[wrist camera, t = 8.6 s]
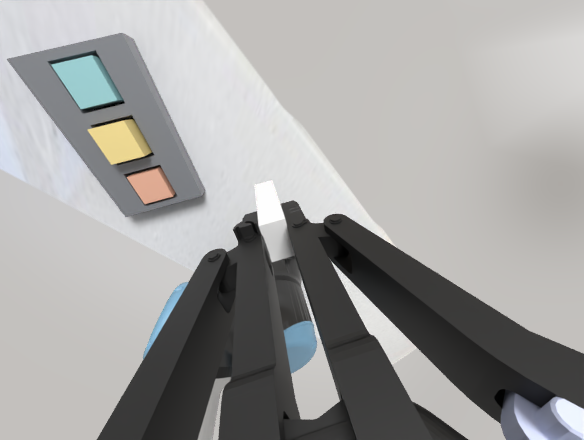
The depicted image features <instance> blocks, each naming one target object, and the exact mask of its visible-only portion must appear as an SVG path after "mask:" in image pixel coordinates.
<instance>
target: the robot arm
mask: <svg viewBox="0 0 584 440" xmlns="http://www.w3.org/2000/svg"><path fill="white" fill-rule="evenodd" d="M254 186H255V195H256V205H257V211H256V212H253V213H249V214H246V215H245V216H244V218H243V222H240V223H239V224H237V225H236V226H235V227H234V229H233V231H234V233H235V235H236V238H237V240H238V246H237V247H236V248H234V249H232V250H230V251H228V252H226V251H225V250H224V249H215V250H212V251H210V252H209V253H207V254H206V255H205V256H204V257H203V258H202V260H201V262H200V264H199V265H198V267H197V269H196V270H195V272H194V274H193V276H192V277H191V279H190V281H189V282H185V283H182V284H180V285H179V286H178V287H177V288H176V289H175V290H174V292H173V293H172V294H171V296H170V298H169V299H168V301H167V303H166V305H165V307H164V309H163V311H162V313H161V315H160V317H159V319H158V321H157V323H156V325H155V327H154V329H153V332H152V334H151V336H150V339H149V342H148V345H147V347H146V349H145V352H144V355H143V361H142V363H141V365H140V367H139V368H138V370H137V372H136V373H135V375H134V377H133V379H132V380H131V382H130V384H129V385H128V387H127V389H126V391H125V392H124V394H123V396H122V397H121V399H120V401H119V403H118V404H117V406H116V408H115V410H114V411H113V413H112V415H111V416H110V418H109V420H108V421H107V423H106V425H105V427H104V428H103V430H102V432H101V433H100V435H99V437H98V439H97V440H212V438H213V433H214V427H215V420H216V415H217V409H218V403H219V397H220V393H221V391H222V389H223V388H224V390H223V395H222V402H221V415H220V427H219V439H218V440H468V439H467V438H465V437H464V436H463V435H461V434H460V433H458V432H457V431H456V430H454V429H453V428H452V427H450V426H449V425H447V424H446V423H444V422H443V421H442V420H441V419H439V418H438V417H436V416H435V415H434V414H432V413H431V412H429V411H428V410H426V409H425V408H423V407H421V406H420V405H418V404H416V403H414V402H412V401H411V399H410V397H409V395H408V394H407V392H406V390H405V388H404V386H403V385H402V383H401V381H400V379H399V377H398V376H397V374H396V372H395V370H394V368H393V367H392V365H391V363H390V361H389V359H388V357H387V356H386V354H385V352H384V350H383V348H382V347H381V345H380V343H379V342H378V340H377V339H376V338H375V337H374V336H373V335H370V334H369V332H368V331H367V329H366V327H365V325H364V323H363V322H362V320H361V318H360V316H359V314H358V312H357V310H356V308H355V306H354V305H353V303H352V301H351V299H350V297H349V295H348V293H347V291H346V289H345V288H344V286H343V284H342V282H341V280H340V278H339V276H338V274H337V272H336V270H335V269H334V267H333V265H332V263H331V261H332V262H333V263H334V264H335V265H336V266H337V267H338V268H339V269H340V270H341V271H342V272H343V273H344V274H345V275H346V276H347V277H348V278H349V279H350V280H351V281H352V282H353V283H354V284H355V285H356V286H357V287H358V288H359V290H360V291H361V292H362V293H363V294H364V295H365V296H366V297H367V298H368V299H369V300H370V301H371V302H372V303H373V304H374V305H375V306H376V307H377V308H378V309H379V310H380V311H381V312H382V313H383V314H384V315H385V316H386V317H387V318H388V319H389V320H390V321H391V322H392V323H393V324H394V325H395V326H396V327H397V328H398V329H399V330H400V331H401V332H402V333H403V334H404V335H405V336H406V337H407V338H408V339H409V340H410V341H411V342H412V343H413V344H414V345H415V346H416V347H417V348H418V349H419V350H421V352H422V353H423V354H424V355H425V356H426V357H427V358H428V359H429V360H430V361H431V362H432V363H433V364H434V365H435V366H436V367H437V368H438V369H439V370H440V371H441V372H442V373H443V374H444V375H445V376H446V377H447V378H448V379H449V380H450V381H451V382H452V383H453V384H454V385H455V386H456V387H457V388H458V389H459V390H460V391H462V392H463V393H464V394H465V395H466V396H467V397H468V398H469V399H470V400H471V401H472V402H474V403H475V404H476V405H477V406H479V407H480V408H481V409H482V410H483V411H485V412H486V413H487V414H489V415H490V416H491V417H492V418H494V419H495V420H496V421H498V422H499V423H500V424H501V428H502V430H503V434H504V436H505V438H506V440H584V354H583V353H580V352H578V351H575V350H573V349H571V348H569V347H566V346H564V345H561V344H559V343H557V342H554V341H552V340H549V339H547V338H545V337H542V336H540V335H538V334H535V333H533V332H530V331H528V330H527V329H525V328H524V327H522V326H520V325H519V324H517V323H516V322H514V321H513V320H511V319H509V318H508V317H506V316H504V315H503V314H501V313H500V312H498V311H497V310H495V309H493V308H492V307H490V306H488V305H487V304H485V303H484V302H482V301H480V300H479V299H477V298H476V297H474V296H473V295H471V294H469V293H468V292H466V291H465V290H463V289H461V288H460V287H458V286H457V285H455V284H453V283H452V282H450V281H449V280H447V279H445V278H444V277H442V276H441V275H439V274H438V273H436V272H434V271H433V270H431V269H430V268H428V267H426V266H425V265H423V264H422V263H420V262H418V261H417V260H415V259H414V258H412V257H411V256H409V255H407V254H405V253H404V252H403V251H401V250H399V249H398V248H396V247H395V246H393V245H391V244H390V243H388V242H387V241H385V240H383V239H382V238H380V237H379V236H377V235H375V234H374V233H372V232H371V231H369V230H367V229H366V228H364V227H363V226H361V225H360V224H358V223H356V222H355V221H353V220H352V219H350V218H348V217H347V216H345V215H342V214H332V215H329V216H327V217H326V218H325V219H324V223H310V221H309V220H308V219H306V218H305V216H304V214H303V212H302V210H301V208H300V207H299V204H298V203H297V202H295V201H289V202H286V203H282V204H280V202H279V199H278V196H277V193H276V190H275V187H274V184H273V181H272V180H270V181H267V182H263V183H259V184H256V185H254ZM329 258H330V259H329ZM330 260H331V261H330ZM301 280H303V284H304V287H305V290H306V293H307V296H308V299H309V303H310V306H311V309H312V312H313V315H314V319H315V322H316V325H317V328H318V331H319V335H320V338H321V341H322V344H323V347H324V351H325V354H326V357H327V360H328V363H329V366H330V370H331V373H332V376H333V379H334V382H335V386H336V389H337V392H338V396H339V399H340V402H339V403H337V404H336V405H335V406H333V407H332V408H331V409H330V410H328V411H327V412H326V413H324V414H323V415H322V416H320V417H319V418H317V419H315V420H301V419H300V415H299V411H298V407H297V404H296V400H295V395H294V389H293V383H292V377H291V373H293V372H295V371H297V370H298V369H300V368H302V367H303V366H304V365H306V364H307V363H308V362H309V361H310V360H311V358H312V357H313V355H314V353H315V351H316V348H317V341H316V336H315V331H314V324H313V322H312V320H311V317H310V314H309V311H308V307H307V304H306V301H305V298H304V294H303V291H302V288H301Z"/></svg>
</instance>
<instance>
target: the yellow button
mask: <svg viewBox="0 0 584 440" xmlns="http://www.w3.org/2000/svg"><path fill="white" fill-rule="evenodd" d="M88 132H89V133H90V135H91V136H92V137H93V139H94V140H95V142H96V143H97V145H98V146H99V148H100V149H101V151H102V152H103V153H104V155H105V156H106V158H107V159H108V161H109V162H110V164H111V165H113V164H117V163H121V162H124V161H128V160H132V159H136V158H140V157H143V156H146V155H148V154H150V153H152V151H151V149H150V147H149V145H148V143H147V142H146V140H145V138H144V136H143V135H142V133H141V131H140V129H139V127H138V126H137V124H136V122H135V120H134V119H130V120H124V121H120V122H116V123H112V124H108V125H104V126H100V127H96V128H92V129H88Z"/></svg>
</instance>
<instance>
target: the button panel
mask: <svg viewBox="0 0 584 440" xmlns="http://www.w3.org/2000/svg"><path fill="white" fill-rule="evenodd" d="M91 55H92V56H96V57H100V59H101V61H102V63H103V64H104V66H105V68H106V70H107V71H108V73H109V75H110V77H111V79H112V80H113V82H114V84H115V86H116V87H117V89H118V91H119V93H120V95H121V96H122V98H123V100H124V102H125V104H121V105H117V106H113V107H109V108H105V109H100V110H96V111H94V109H80V107H79V106H78V104H77V103H76V101H75V100H74V98H73V97H72V95H71V94H70V92H69V91H68V89H67V88H66V86H65V85H64V83H63V82H62V80H61V79H60V77H59V76H58V74H57V73H56V71H55V70H54V68H53V67H52V64H56V63H60V62H65V61H69V60H73V59H78V58H82V57H86V56H91ZM7 60H8V62H9V63H10V64H11V66H12V67H13V68H14V70H15V71H16V72H17V74H18V75H19V76H20V78H21V79H22V80H23V81H24V83H25V84H26V85H27V87H28V88H29V89H30V91H31V92H32V93H33V95H34V96H35V97H36V99H37V100H38V101H39V103H40V104H41V105H42V107H43V108H44V109H45V111H46V112H47V113H48V115H49V116H50V117H51V119H52V120H53V121H54V123H55V124H56V125H57V127H58V128H59V129H60V131H61V132H62V133H63V135H64V136H65V137H66V139H67V140H68V141H69V142H70V144H71V145H72V146H73V148H74V149H75V150H76V152H77V153H78V154H79V156H80V157H81V158H82V160H83V161H84V162H85V164H86V165H87V166H88V168H89V169H90V170H91V172H92V173H93V174H94V176H95V177H96V178H97V180H98V181H99V182H100V184H101V185H102V186H103V188H104V189H105V190H106V192H107V193H108V194H109V196H110V197H111V198H112V200H113V201H114V202H115V204H116V205H117V206H118V207H119V209H120V210H121V211H122V213H123V214H124V215H125V217H128V216H131V215H135V214H139V213H142V212H146V211H150V210H153V209H157V208H160V207H164V206H168V205H171V204H175V203H178V202H182V201H186V200H189V199H193V198H196V197H200V196H203V193H204V191H205V189H204V187H203V184H202V182H201V180H200V178H199V176H198V174H197V172H196V170H195V168H194V166H193V163H192V161H191V159H190V157H189V155H188V153H187V151H186V149H185V147H184V145H183V142H182V140H181V138H180V136H179V134H178V132H177V130H176V128H175V126H174V123H173V121H172V119H171V117H170V115H169V113H168V111H167V109H166V107H165V105H164V102H163V100H162V98H161V96H160V94H159V92H158V90H157V88H156V86H155V84H154V81H153V79H152V77H151V75H150V73H149V71H148V69H147V67H146V65H145V62H144V60H143V58H142V56H141V54H140V52H139V50H138V48H137V46H136V44H135V41H134V39H132V38H131V37H129V36H127V35H125V34H123V33H119V34H115V35H110V36H106V37H102V38H97V39H93V40H88V41H84V42H80V43H75V44H71V45H66V46H62V47H58V48H53V49H49V50H45V51H40V52H36V53H31V54H27V55H23V56H18V57H14V58H9V59H7ZM131 116H133V118H134V120H135V121H136V123H137V125H138V127H139V128H140V130H141V132H142V134H143V136H144V137H145V139H146V141H147V143H148V144H149V146H150V148H151V150H152V152H153V153H154V154H151V155H147V156H144V157H140V158H136V159H132V160H128V161H124V162H121V163H117V164H113V165H111V164H110V162H109V161H108V159H107V158H106V156H105V155H104V153H103V152H102V151H101V149H100V148H99V146H98V145H97V143H96V142H95V140H94V139H93V137H92V136H91V135H90V133H89V132H88V129H92V128H96V127H100V126H104V125H103V123H107V122H111V121H115V120H119V119H123V118H127V117H131ZM157 165H160V166H161V168H162V169H163V171H164V173H165V175H166V176H167V178H168V180H169V182H170V184H171V185H172V187H173V189H174V191H175V192H176V193H175V194H174V196H173V197H169V198H165V199H162V200H158V201H155V202H151V203H147V204H144V203H143V201H142V200H141V198H140V197H139V195H138V194H137V192H136V191H135V189H134V188H133V186H132V185H131V183H130V182H129V180H128V179H127V177H128V176H130V175H131V174H133V173H134V171H138V170H142V169H146V168H149V167H153V166H157Z"/></svg>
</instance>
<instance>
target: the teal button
mask: <svg viewBox="0 0 584 440" xmlns="http://www.w3.org/2000/svg"><path fill="white" fill-rule="evenodd" d="M52 67H53V68H54V70H55V71H56V73H57V74H58V76H59V77H60V79H61V80H62V82H63V83H64V85H65V86H66V88H67V89H68V91H69V92H70V94H71V95H72V97H73V98H74V100H75V101H76V103H77V104H78V106H79V107H80V109H95V108H99V107H103V106H107V105H111V104H115V103H120V102H124V100H123V98H122V96H121V95H120V93H119V91H118V89H117V87H116V86H115V84H114V82H113V80H112V79H111V77H110V75H109V73H108V71H107V70H106V68H105V66H104V64H103V63H102V61H101V59H100V58H99V57H96V56H92V55H91V56H86V57H82V58H78V59H73V60H69V61H65V62H60V63H56V64H52Z"/></svg>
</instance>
